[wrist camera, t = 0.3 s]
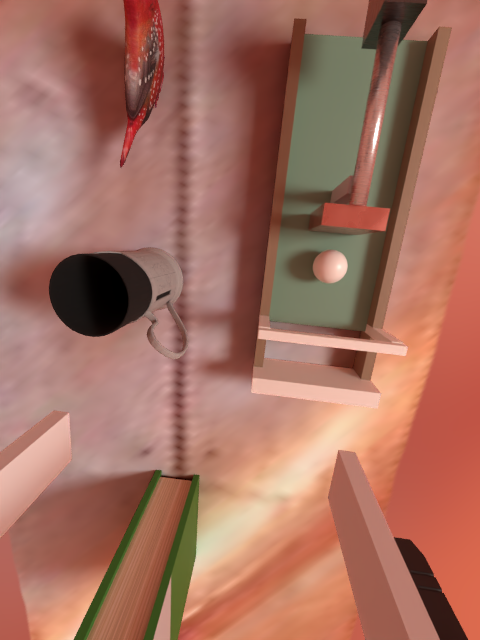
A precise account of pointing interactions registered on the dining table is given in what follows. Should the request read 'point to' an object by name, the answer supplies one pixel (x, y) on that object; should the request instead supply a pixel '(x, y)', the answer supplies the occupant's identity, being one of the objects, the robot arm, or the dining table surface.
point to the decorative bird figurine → (141, 64)
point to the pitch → (334, 187)
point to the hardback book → (149, 568)
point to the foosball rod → (371, 120)
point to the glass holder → (117, 292)
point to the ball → (330, 266)
